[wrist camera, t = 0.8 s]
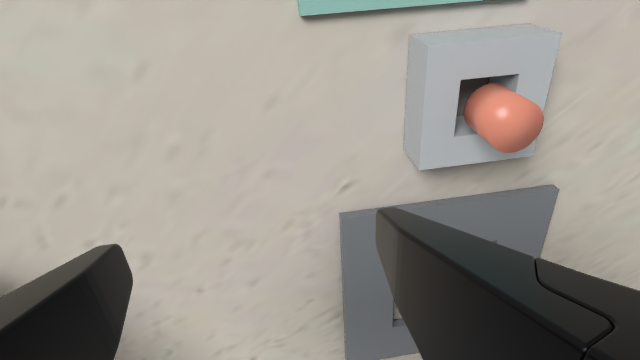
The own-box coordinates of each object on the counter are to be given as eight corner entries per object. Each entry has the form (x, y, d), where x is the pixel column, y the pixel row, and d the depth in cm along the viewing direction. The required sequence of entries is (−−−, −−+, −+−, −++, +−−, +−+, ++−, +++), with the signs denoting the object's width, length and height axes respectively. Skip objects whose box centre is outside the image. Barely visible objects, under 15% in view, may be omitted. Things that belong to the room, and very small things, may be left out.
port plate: (345, 358, 32) (347, 365, 31) (339, 213, 25) (341, 218, 24) (512, 329, 33) (516, 335, 33) (553, 184, 26) (559, 189, 26)
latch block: (403, 149, 23) (419, 170, 21) (409, 34, 20) (428, 45, 18) (507, 136, 24) (532, 156, 22) (529, 23, 20) (562, 32, 18)
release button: (461, 133, 20) (485, 155, 18) (467, 85, 19) (495, 104, 17) (506, 127, 20) (536, 149, 18) (516, 80, 19) (549, 97, 17)
